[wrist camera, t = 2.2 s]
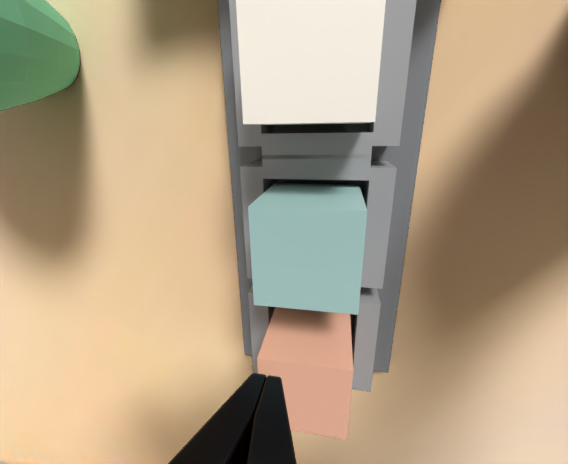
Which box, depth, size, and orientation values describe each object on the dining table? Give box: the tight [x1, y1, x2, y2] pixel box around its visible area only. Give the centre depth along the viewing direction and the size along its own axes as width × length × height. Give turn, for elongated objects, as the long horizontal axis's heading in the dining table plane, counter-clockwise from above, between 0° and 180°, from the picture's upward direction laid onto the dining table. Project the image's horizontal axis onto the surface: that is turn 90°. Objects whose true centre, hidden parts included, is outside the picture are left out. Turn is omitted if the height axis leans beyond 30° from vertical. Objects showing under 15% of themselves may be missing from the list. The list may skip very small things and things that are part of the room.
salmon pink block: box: [257, 307, 353, 440], centre depth 16 cm, size 4×4×5 cm
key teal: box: [248, 183, 367, 315], centre depth 14 cm, size 4×4×5 cm
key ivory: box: [236, 0, 386, 125], centre depth 11 cm, size 4×4×5 cm
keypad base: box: [218, 0, 441, 392], centre depth 17 cm, size 11×24×4 cm, turn 0°
